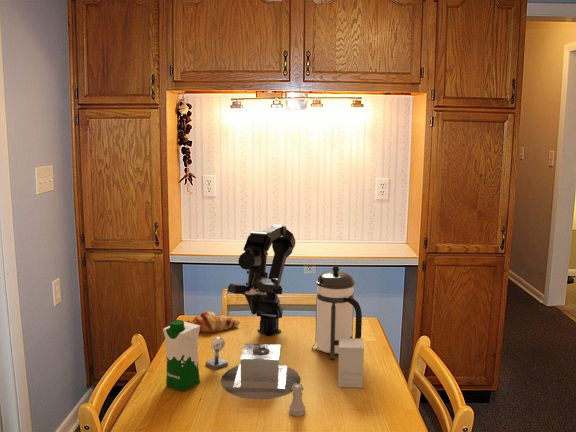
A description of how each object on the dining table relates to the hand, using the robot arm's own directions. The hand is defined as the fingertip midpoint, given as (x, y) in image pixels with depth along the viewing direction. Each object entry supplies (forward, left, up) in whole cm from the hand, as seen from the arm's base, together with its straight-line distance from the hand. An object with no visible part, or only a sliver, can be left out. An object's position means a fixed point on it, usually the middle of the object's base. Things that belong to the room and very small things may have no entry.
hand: (253, 314), depth 189 cm
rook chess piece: (+19, +41, -12) cm, 47 cm away
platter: (+14, +20, -12) cm, 27 cm away
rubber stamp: (+18, +3, -12) cm, 21 cm away
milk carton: (+33, +7, -12) cm, 35 cm away
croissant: (+1, -24, -12) cm, 27 cm away
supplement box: (-5, +39, -12) cm, 41 cm away
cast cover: (+14, +20, -12) cm, 27 cm away
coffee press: (-18, +22, -12) cm, 31 cm away
